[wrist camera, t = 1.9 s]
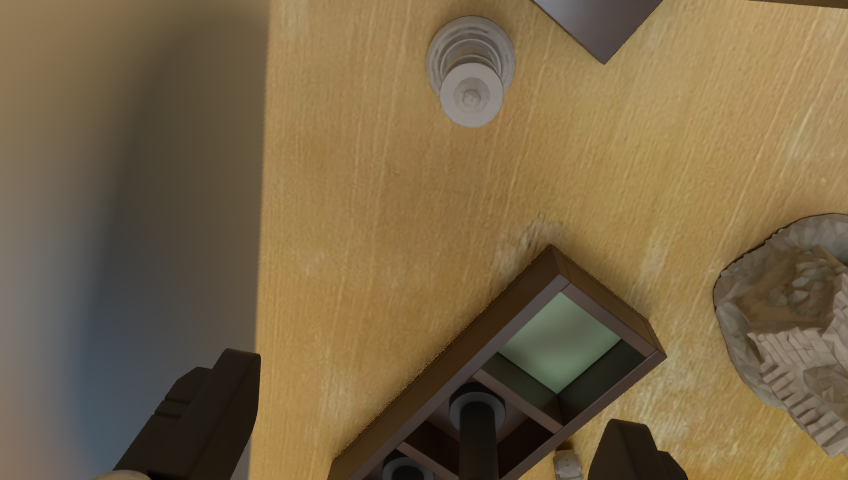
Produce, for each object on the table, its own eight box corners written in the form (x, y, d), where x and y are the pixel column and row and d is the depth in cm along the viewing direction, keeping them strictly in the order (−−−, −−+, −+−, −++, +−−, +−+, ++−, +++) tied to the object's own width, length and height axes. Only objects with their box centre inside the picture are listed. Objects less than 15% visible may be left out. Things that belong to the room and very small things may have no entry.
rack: (331, 462, 41) (319, 504, 38) (550, 243, 33) (559, 273, 30) (419, 517, 43) (415, 562, 40) (649, 321, 35) (668, 357, 31)
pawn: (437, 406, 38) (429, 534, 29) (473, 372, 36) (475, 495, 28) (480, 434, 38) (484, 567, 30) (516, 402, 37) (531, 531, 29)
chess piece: (420, 97, 30) (399, 149, 21) (435, 7, 28) (420, 22, 19) (502, 113, 30) (518, 172, 21) (523, 24, 28) (550, 47, 19)
